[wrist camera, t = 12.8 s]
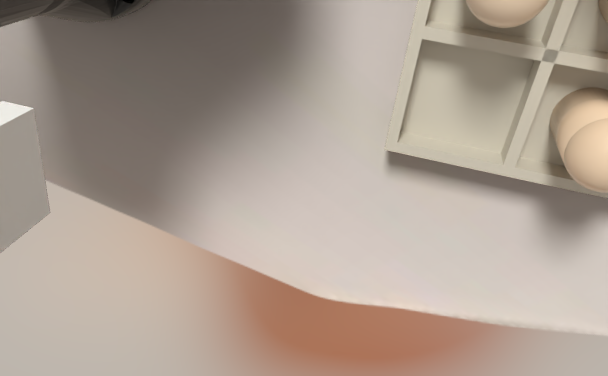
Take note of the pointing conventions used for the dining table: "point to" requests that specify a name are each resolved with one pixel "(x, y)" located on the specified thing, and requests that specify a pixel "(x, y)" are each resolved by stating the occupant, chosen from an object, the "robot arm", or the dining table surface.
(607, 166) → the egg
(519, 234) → the dining table surface
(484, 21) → the beige domed cylinder
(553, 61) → the egg tray
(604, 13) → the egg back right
